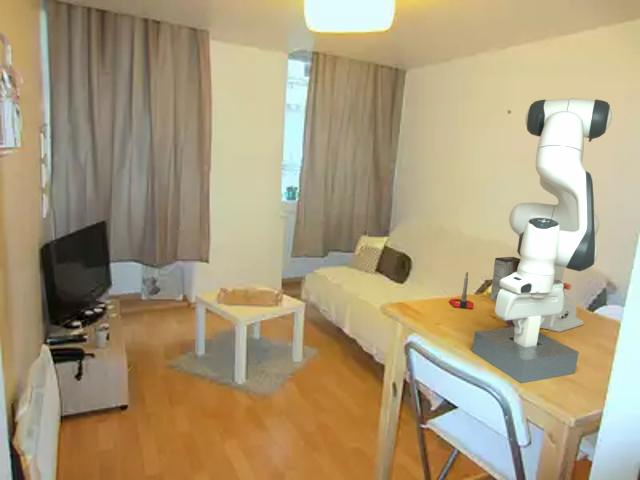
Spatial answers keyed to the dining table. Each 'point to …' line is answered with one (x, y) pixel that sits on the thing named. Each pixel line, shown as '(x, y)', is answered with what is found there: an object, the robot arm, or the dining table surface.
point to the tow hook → (463, 298)
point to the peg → (528, 332)
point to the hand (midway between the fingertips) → (526, 331)
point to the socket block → (524, 355)
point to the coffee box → (502, 272)
